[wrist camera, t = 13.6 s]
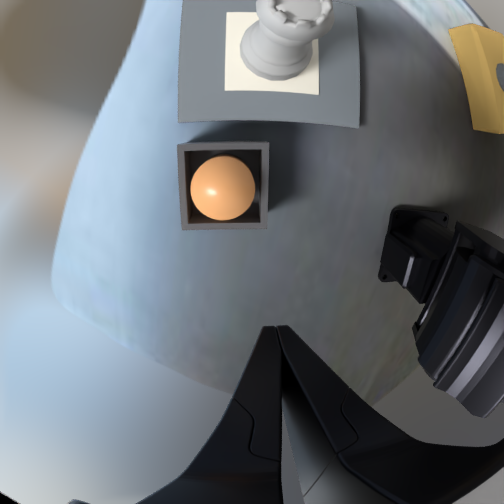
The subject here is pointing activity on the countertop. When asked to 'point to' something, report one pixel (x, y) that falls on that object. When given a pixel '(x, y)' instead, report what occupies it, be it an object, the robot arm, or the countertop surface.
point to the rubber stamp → (482, 74)
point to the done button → (223, 187)
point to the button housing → (198, 154)
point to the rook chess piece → (284, 36)
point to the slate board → (257, 88)
